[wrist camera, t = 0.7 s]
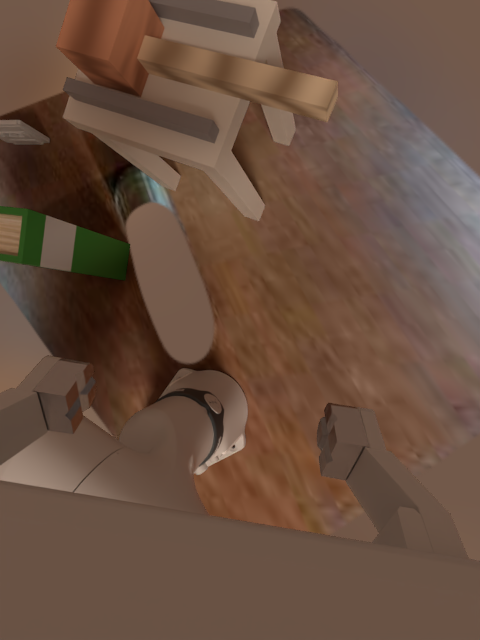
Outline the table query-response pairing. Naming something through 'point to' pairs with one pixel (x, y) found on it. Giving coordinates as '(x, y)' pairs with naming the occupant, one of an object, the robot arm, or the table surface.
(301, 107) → the mallet
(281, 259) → the table surface
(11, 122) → the cassette
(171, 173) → the stand
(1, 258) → the hardback book
